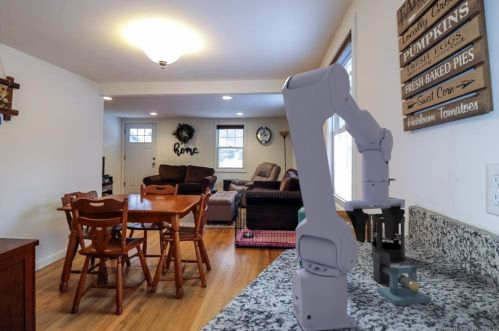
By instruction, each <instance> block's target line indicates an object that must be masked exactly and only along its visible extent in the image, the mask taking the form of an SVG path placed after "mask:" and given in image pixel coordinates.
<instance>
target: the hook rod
mask: <svg viewBox="0 0 499 331" xmlns="http://www.w3.org/2000/svg"><path fill="white" fill-rule="evenodd" d="M372 266H373V267H372V270H373V271H372V275H373V276H372V277H373V278H372V279H373V280H374V281H376V282H377V283H378V284H388V283H389V284H390V267H391V262H390V254H389V253H387V252H385V251H373V257H372ZM399 284H400V286H404V287H406V288H407V289H409V290H410V291H412V292H416V291H418V290H419V288H420V286H419V283H418V281H417V282H415V281H413V280H412V279H410V278H408V276H406V275H405V274H398V285H399Z"/></svg>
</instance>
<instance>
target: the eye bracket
mask: <svg viewBox="0 0 499 331" xmlns="http://www.w3.org/2000/svg"><path fill="white" fill-rule="evenodd" d="M398 274H403V275H405V274H407V277H408V278H410V279H412V280H413V281H415V282H417V283H418V275H417V274H418V269H417V266H416V265H414V264H412V265H411V264H410V265H397V266H396V265H395V266H390V283H389V286H387V287H377V288H376V290H377V291H376V292H377V293H378V294H379V295H381V296H382V297H383V298H385V299H386V300H387V301H389V302H390V303H391V304H392V305H394V306H398V305H409V304H421V303H431V302H432V297H431V296H430V295H428V294H426V293H424V292H422V291H421V290H419V289H418V291H416V292H412V291H410V290H409V289H407V288H406V287H404V286H402V285H399V283H398Z"/></svg>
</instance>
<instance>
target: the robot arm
mask: <svg viewBox="0 0 499 331" xmlns="http://www.w3.org/2000/svg"><path fill="white" fill-rule="evenodd" d="M281 93H282V99H283V104H284V109H285V114H286V121H287V123H288V128H289V129H288V130H289V134H290V138H291V144H292V149H293V155H294V159H295V165H296V170H297V176H298V181H299V188H300V192H301V199H302V198H303V202H302V203H303V207H304V209H305V214H306V218H305V219H304V220H303V221H302V222H300V223H299V225H298V224H297V226H296V228H295V234H296V240H295V251H296V255H297V258H298V260H299V259H300V260H301V261H302V266H303V267H305V268H301V269H296V270H294V271H293V273H292V277H291V278H292V280H291V281H292V282H291V283H292V284H291V288H292V289H291V292H292V293H291V294H292V295H291V296H292V297H291V298H292V299H291V300H292V302H291V304H292V306H290V307H291V309H290V310H291V312H292V313H293V315H294V316H295V318H296V320H297V322H298V324H299V326H300V327H301V328H302V331H327V330H336V329H337V330H340V329H350V328H357V327H358V322H356V321H355V320H354V318H353V317H352V316H351V315H350V314H349V312H348V273H350V272H352V270H354V268H355V267H356V265H357V263H358V259H359V253H360V252H359V250H360V249H359V244H358V242H359V243H361V244H364V243H366V230H367V218H368V215H369V214H370V213H366V212H365V211H364V210H376V209H377V210H379V209H380V210H381V214H383V219H384V223H383V226H384V227H383V228H384V229H383V230H384V231H383V232H384V234H385V238H386V239H389V240H394V237H395V233H396V230H397V227H398V224H399V222H400V220H401V219H402V217H403V216H404V217H405V214H406V210H405V209H403V208H406V203H405V202H406V199H404V198H403V199H402V198H397V199H389V197H390V196H389V194H390V192H389V191H390V188H389V186H390V185H389V175H390V173H389V172H390V171H389V170H390V168H389V167H390V166H389V165H390V164H389V163H390V161H391V160H392V151H393V147H394V138H393V137H394V136H393V134H392V131H391V130H390V129H387V128H386V127H382V126H381V125H380V124H379V123H378V122H377V120H376V119H375V118H374V116H373V115H372V113H370V111H368V110H367V109H360V107H359V105H358V104H357V102H356V100H355V99H354V98H353V96H352V94H351V80H350V75H349V73H348V71H347V70H346V68H345V67H344V66H343V65H342V64H341V63H338V62H335V63H332V64H331V65H328V66H324V67H320V68H315V69H312V70H309V71H306V72H305V71H304V72H301V73H298V74H297V73H294V74H290V76H289V77H287V80H286V81H285V83H284V84H283V86H282V89H281ZM335 114H336V115H337V116H338V117H340V118H341V119H342V120H343V121H344V129H345V131H346V132H347V133H348V134H349V135H350V136H351V137H352V138H353V139H354V143H355V145H356V149H357V151H358V153H359V154H361V199H355V200H344V210H345V213H346V215H347V217H348V219H349V221H350V223H351V224H349V223H348V222H347V221H346V220H344V219H343V218H342V217H341V216H340V215H339V214H338V212H337V207H336V206H337V205H336V202H335V201H336V200H335V194H334V188H333V182H332V181H333V180H332V175H331V170H330V164H329V159H328V157H329V156H328V153H327V146H326V140H325V134H324V133H325V132H324V125H325V124H326V121H327V120H329V119H330V118H332V117H333V116H334V115H335ZM351 225H352V226H351ZM399 225H400V224H399ZM352 227H353V228H352ZM353 231H354V233H353ZM354 234H355V236H354ZM389 240H388V241H389Z"/></svg>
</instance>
